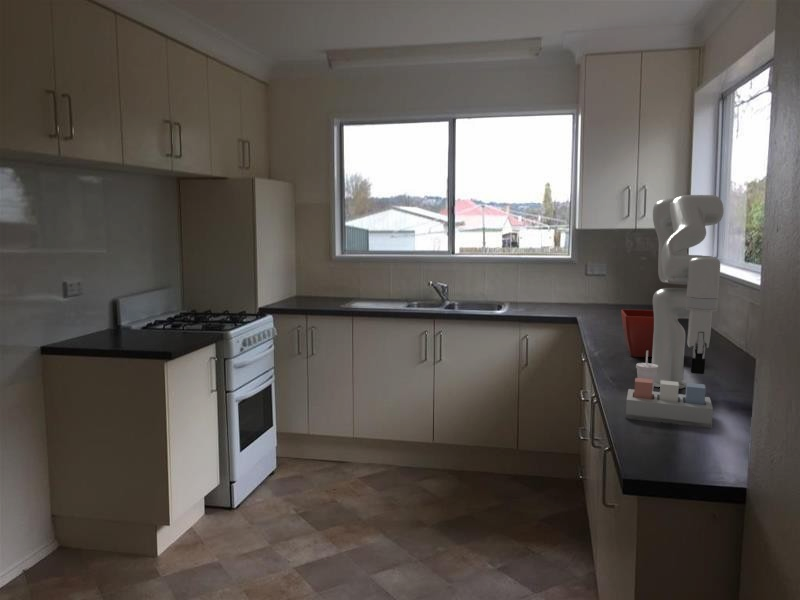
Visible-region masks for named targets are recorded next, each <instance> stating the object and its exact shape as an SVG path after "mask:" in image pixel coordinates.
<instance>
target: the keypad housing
mask: <svg viewBox="0 0 800 600" xmlns="http://www.w3.org/2000/svg"><path fill="white" fill-rule="evenodd" d="M685 395H686V394H682V393H678V402H671V401H662V400H660V391H654V390H653V391H652V399H643V398H634V389H633V388H632V389H631V388H628V390H627V396H626V401H625V402H626V404H625V419H628V420H636V421H646V422H654V423H661V422H663V423H664V424H669V423H672V424H671V425H677V424H678V425H677V426H686V427H687V426H688V427H696V428H704V429H712V425H713V416H714V415H713V414H714V413H713V412H714V408H713V404H712V400H711V398H710V396H705V405H699V404H690V403H686V401H685ZM663 423H662V424H663Z"/></svg>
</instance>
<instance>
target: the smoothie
mask: <svg viewBox="0 0 800 600" xmlns="http://www.w3.org/2000/svg"><path fill="white" fill-rule="evenodd" d="M635 369H636V374H637V378H643V379H653V385H652V391H654V388H655V386H654V383H655V378H656V373H657V370H658V365H655V364H652V362H651V363H649V358H648V351H646V357H645V362H638V363H636V365H635Z"/></svg>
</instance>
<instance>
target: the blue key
mask: <svg viewBox="0 0 800 600" xmlns="http://www.w3.org/2000/svg"><path fill="white" fill-rule="evenodd" d="M706 392H707V390H706V385H705V384H703V383H694V382H687V383H686V388H685V394H684V395H685V401H686V403H690V404H699V405H705V397H706Z"/></svg>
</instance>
